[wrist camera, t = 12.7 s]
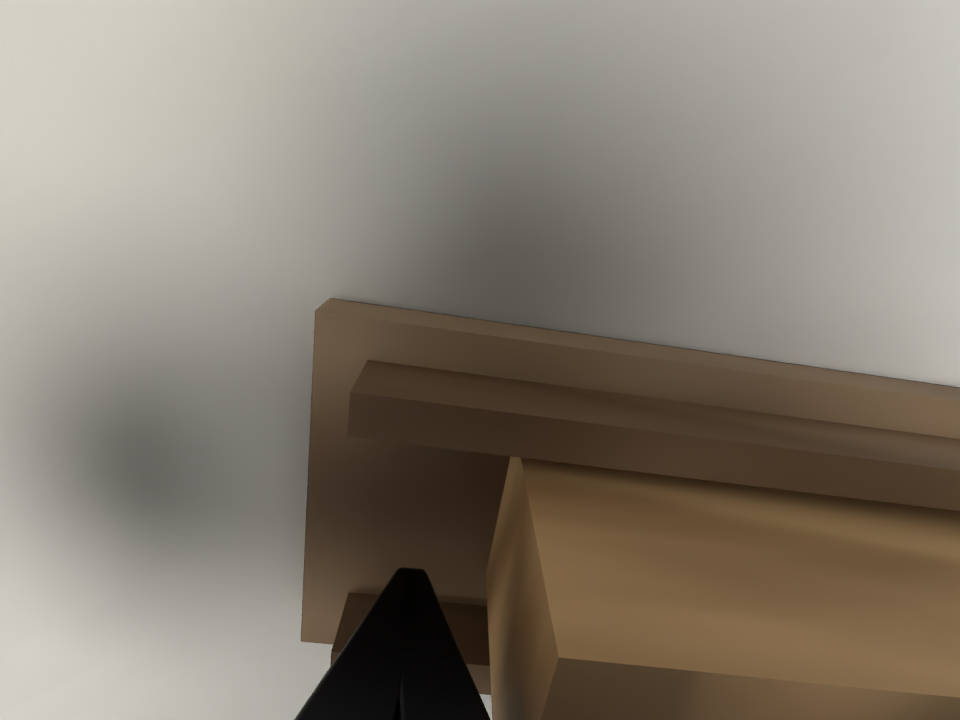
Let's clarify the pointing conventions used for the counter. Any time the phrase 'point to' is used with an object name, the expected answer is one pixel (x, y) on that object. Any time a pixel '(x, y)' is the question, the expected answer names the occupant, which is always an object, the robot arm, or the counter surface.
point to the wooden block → (717, 601)
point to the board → (564, 443)
